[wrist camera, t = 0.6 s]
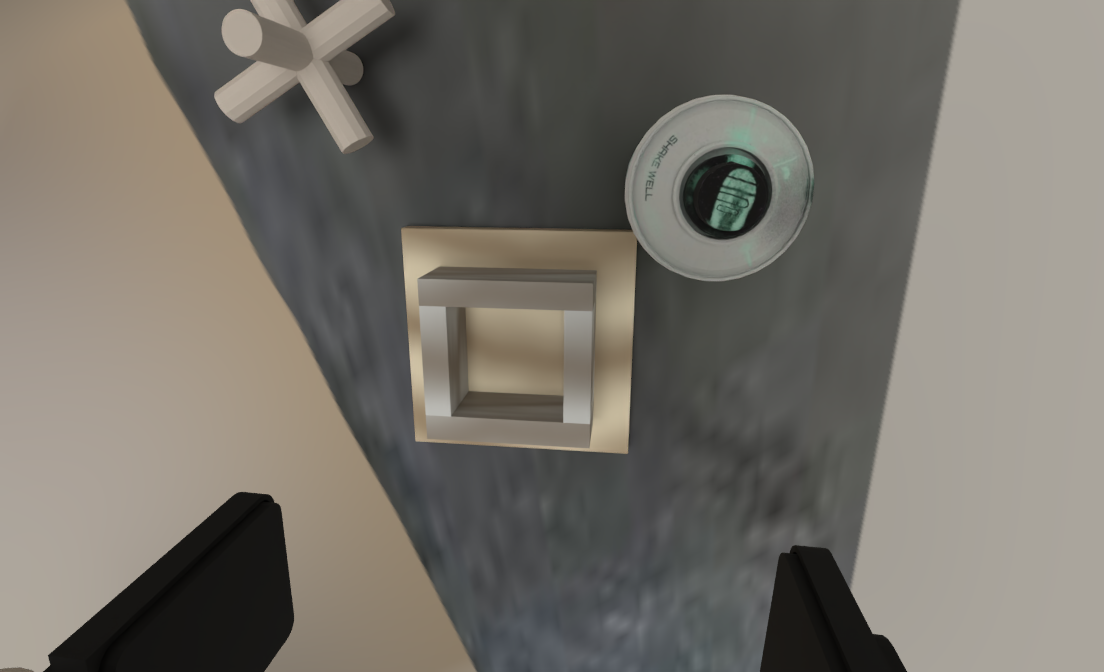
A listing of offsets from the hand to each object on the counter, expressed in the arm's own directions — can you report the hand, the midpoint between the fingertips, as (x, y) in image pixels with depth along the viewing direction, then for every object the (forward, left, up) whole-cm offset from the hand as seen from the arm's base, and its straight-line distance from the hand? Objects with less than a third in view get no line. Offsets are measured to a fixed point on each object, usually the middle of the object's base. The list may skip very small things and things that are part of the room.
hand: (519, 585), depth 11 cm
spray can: (-7, +4, -27) cm, 28 cm away
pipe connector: (-13, -15, -27) cm, 33 cm away
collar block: (+3, -5, -27) cm, 27 cm away
